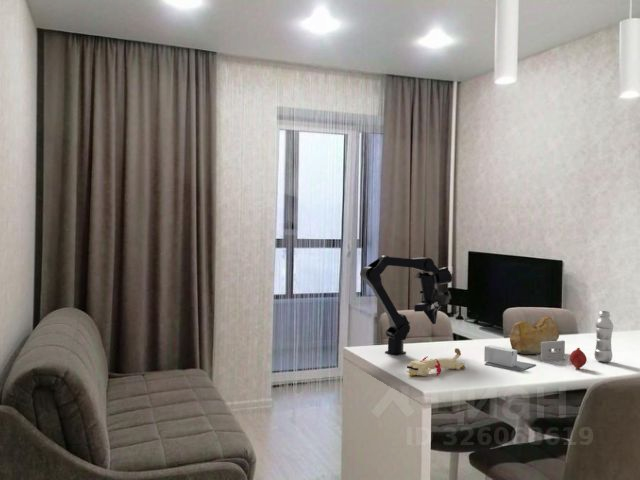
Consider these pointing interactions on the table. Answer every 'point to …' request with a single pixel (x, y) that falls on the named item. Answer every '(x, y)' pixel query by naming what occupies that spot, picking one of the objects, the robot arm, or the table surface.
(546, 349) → the cassette
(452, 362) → the cat figure
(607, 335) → the plastic bottle
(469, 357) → the table surface
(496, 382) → the table surface
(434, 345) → the table surface
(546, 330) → the rough brown rock
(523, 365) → the felt mat
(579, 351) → the onion
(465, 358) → the table surface
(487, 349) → the skincare box
